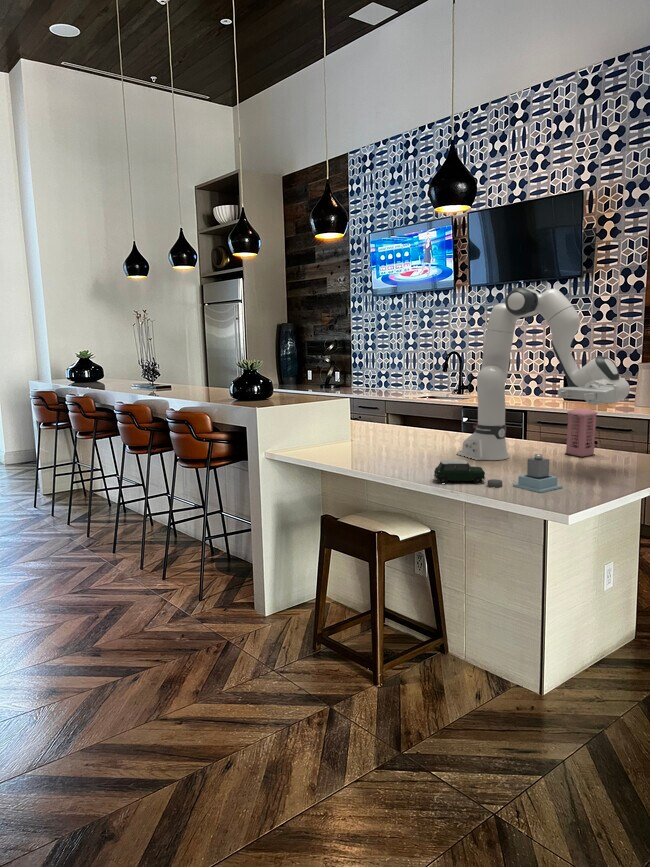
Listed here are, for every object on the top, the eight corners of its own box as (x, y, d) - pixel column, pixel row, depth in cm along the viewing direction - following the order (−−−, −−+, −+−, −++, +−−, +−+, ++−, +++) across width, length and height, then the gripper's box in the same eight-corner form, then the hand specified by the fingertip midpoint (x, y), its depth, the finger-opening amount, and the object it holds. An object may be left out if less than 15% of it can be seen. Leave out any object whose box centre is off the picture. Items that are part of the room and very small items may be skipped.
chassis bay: (512, 486, 226) (513, 475, 225) (534, 481, 231) (534, 471, 231) (541, 493, 216) (541, 481, 215) (562, 488, 221) (563, 477, 221)
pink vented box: (577, 452, 282) (579, 406, 279) (596, 455, 274) (598, 408, 271) (563, 455, 277) (565, 408, 274) (583, 458, 269) (585, 410, 266)
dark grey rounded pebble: (484, 486, 227) (484, 480, 227) (494, 484, 230) (494, 478, 230) (495, 489, 223) (495, 483, 223) (505, 486, 226) (505, 481, 226)
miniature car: (486, 484, 230) (486, 462, 228) (434, 484, 231) (434, 462, 230) (482, 478, 238) (483, 457, 237) (432, 479, 240) (432, 457, 239)
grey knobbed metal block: (526, 484, 224) (527, 454, 223) (536, 482, 227) (537, 452, 225) (538, 487, 220) (539, 456, 218) (548, 485, 223) (549, 454, 221)
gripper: (572, 382, 246) (547, 384, 239) (621, 385, 229) (597, 388, 222) (571, 399, 247) (547, 402, 240) (621, 403, 230) (596, 406, 223)
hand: (571, 395), depth 230 cm, fingers open, 8 cm apart
